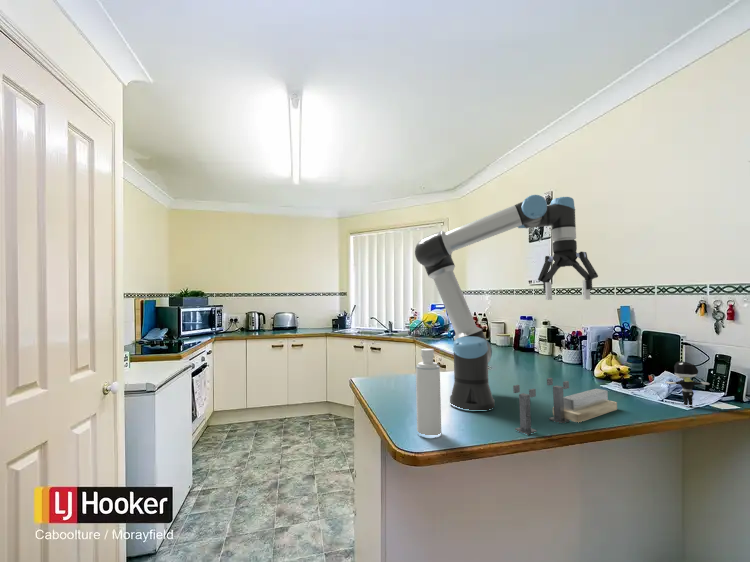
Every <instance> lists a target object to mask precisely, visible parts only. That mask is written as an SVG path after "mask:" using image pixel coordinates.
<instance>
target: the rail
mask: <svg viewBox="0 0 750 562" xmlns="http://www.w3.org/2000/svg"><path fill="white" fill-rule="evenodd" d="M608 400H609V396H608V390H606V389H601V388H593V389H588V390H585V391H581V392H578V393H573V394H571V395H567V396H564V409H566V410H569V411H573V412H575V411H578V410H581V409H585V408H588V407H591V406H594V405H598V404H601V403H604V402H608Z"/></svg>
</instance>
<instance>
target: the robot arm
mask: <svg viewBox="0 0 750 562" xmlns="http://www.w3.org/2000/svg"><path fill="white" fill-rule="evenodd" d="M547 204H548V203H547V201H546V199H545V198H544V197H543V196H541V195H539V194H531V195H529V196H527V197H526V198H525V199H524V200H523V201H521V202H518V203H516V204H514V205H511V206H507V207H506V208H503V209H502V210H499V211H496V212H493V213H491V214H488V215H486V216H483V217H481V218H479V219H476V220H473V221H471V222H468V223H466V224H463V225H461V226H458V227H455V228H454V229H451V230H449V231H444V230H441V231H439V232H436V233H432V234H431V235H428V236H426V237H425V236H424V237H423V238H421V239H420V240H419V241H418V243H417V244H416V245H415V248H414V256H415V259H416V260H417V262H418V263H419V264H420V265H422V266H423V267H424V269H425V271H426V274H427V276H428V278H430V279H433V281H434V284H435V286H436V289H437V292H438V294H439V296H440V299H441V301H442V303H443V307H444V308H445V311H446V314H447V315H448V319H449V320H450V323H451V325H452V328H453V330H454V338H453V340H454V341H453V346H452V351H453V370H454V371H453V374H454V375H453V376H454V381H453V387H452V390H451V394H450V396H449V404H450V403H451V404H453V405H455V406H457V407H460V408H463V409H469V410H489V409H492V408H494V406H495V399H494V397H493V395H492V390H491V388H490V385H489V383H490V382H489V362H490V361H491V359H492V356H493V348H492V346H491V345H492V344H490V342H489V341H488V340H487V338H486V336H485V333H484V332H483V329H482V328H481V327H478V326H477V324H476V323H475V320H474V318H473V314H472V313H471V311H470V308H469V305H468V303H467V301H466V299H465V296H464V294H463V291H462V289H461V287H460V285H459V282H458V279H457V277H456V275H455V272H454V270H455V267H456V265H455V262H454V260H453V258H452V254H453V252H455V251H457V250H460V249H462V248H465V247H468V246H471V245H474V244H476V243H479V242H481V241H484V240H487V239H489V238H492V237H494V236H498V235H500V234H503V233H505V232H508V231H511V230H513V229H517V228H518V229H529V228H530V229H531V228H540V227H550V226H551V235H552V238H551V239H552V241H553V242H552V253H553V256H551V255H545V258H544V263H543V265H542V269H541V270H540V274H539V276H538V278H537V280H538V282H542V284H543V291H544V292H545V300H546V301H551V300H553V291H552V282H551V280H552V278H553V277H554V276H555V275H556V273H557V272H558V270H559V269H560V268H565V267H572V268H573V269H575V271H576V272H577V273H579V275H580V276H581V277H582V278H583V279H582V292H583V295H582V296H583V300H591V290H592V289H593V280H594V279H597V278H598V277H599V275H598V273H597V271H596V270H595V268H594V267H593V264H592V263H591V262H590V260H589V258H588V253H587V252H586V251H579V252H577V250H578V249H577V247H578V245H577V240H576V239H577V228H576V227H577V226H576V207H575V200H574V198H573V197H570V196H560V197H555V198H553V199H552V200H551V201H550V204H549V205H547ZM577 259H579V260H580V262H581V263H582V265H583V266H584V268H583V267H582V265H581V264H580V263H579V262H578V261H577ZM553 261H554V262H553ZM495 407H496V406H495ZM494 409H495V408H494ZM492 410H493V409H492Z"/></svg>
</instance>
